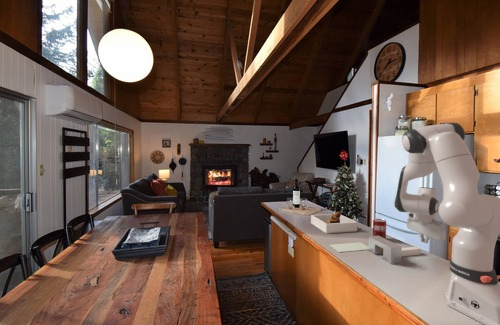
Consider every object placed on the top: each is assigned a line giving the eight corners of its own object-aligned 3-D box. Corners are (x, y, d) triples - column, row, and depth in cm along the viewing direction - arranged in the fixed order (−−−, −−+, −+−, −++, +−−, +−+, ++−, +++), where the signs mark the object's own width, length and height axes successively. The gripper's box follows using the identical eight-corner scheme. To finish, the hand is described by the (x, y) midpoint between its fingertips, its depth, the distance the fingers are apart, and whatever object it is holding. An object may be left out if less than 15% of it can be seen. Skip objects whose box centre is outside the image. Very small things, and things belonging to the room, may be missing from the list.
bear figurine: (323, 224, 183) (323, 208, 183) (344, 227, 178) (345, 210, 177) (321, 230, 171) (321, 212, 170) (344, 232, 165) (345, 214, 164)
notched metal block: (401, 262, 121) (401, 246, 120) (390, 263, 120) (391, 247, 119) (378, 249, 136) (378, 235, 136) (368, 250, 135) (368, 236, 135)
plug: (421, 254, 130) (421, 246, 130) (393, 257, 127) (393, 248, 127) (415, 251, 134) (415, 243, 134) (387, 254, 131) (387, 245, 131)
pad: (372, 249, 137) (372, 248, 137) (339, 252, 133) (339, 251, 133) (360, 242, 147) (360, 242, 147) (329, 245, 143) (329, 244, 143)
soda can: (387, 241, 148) (388, 222, 148) (374, 241, 150) (375, 221, 149) (383, 237, 155) (384, 218, 155) (371, 236, 157) (371, 218, 156)
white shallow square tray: (357, 231, 168) (357, 222, 168) (326, 233, 163) (326, 224, 163) (338, 221, 190) (338, 213, 190) (310, 223, 186) (311, 215, 186)
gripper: (449, 222, 123) (448, 249, 124) (414, 211, 143) (413, 235, 144) (439, 223, 122) (437, 250, 123) (405, 212, 142) (404, 236, 143)
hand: (424, 242), depth 134 cm, fingers closed
